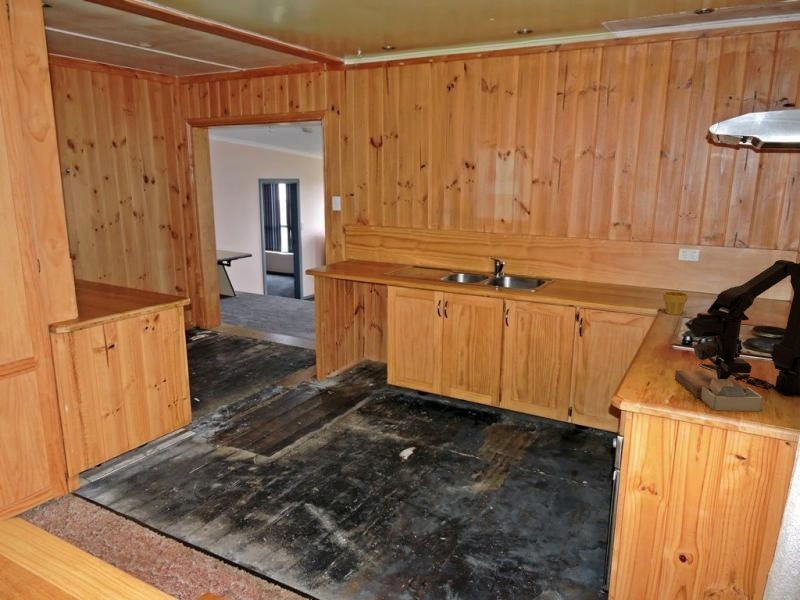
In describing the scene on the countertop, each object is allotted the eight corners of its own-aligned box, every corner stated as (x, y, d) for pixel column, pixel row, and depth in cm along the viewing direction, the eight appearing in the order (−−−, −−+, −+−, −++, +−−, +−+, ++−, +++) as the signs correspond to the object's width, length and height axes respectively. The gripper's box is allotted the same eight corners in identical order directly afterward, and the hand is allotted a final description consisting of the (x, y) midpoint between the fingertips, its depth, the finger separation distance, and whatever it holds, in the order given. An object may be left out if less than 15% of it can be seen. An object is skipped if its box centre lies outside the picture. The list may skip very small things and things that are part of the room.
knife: (695, 366, 193) (695, 362, 193) (709, 363, 195) (710, 360, 195) (761, 391, 170) (762, 387, 170) (777, 388, 172) (777, 384, 172)
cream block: (726, 386, 164) (730, 379, 162) (733, 398, 160) (736, 392, 158) (709, 385, 164) (712, 378, 163) (715, 398, 161) (718, 391, 159)
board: (719, 379, 179) (720, 370, 178) (745, 399, 163) (746, 389, 163) (674, 378, 180) (675, 370, 180) (696, 398, 165) (697, 388, 164)
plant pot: (665, 315, 259) (667, 295, 257) (659, 310, 269) (660, 291, 267) (689, 316, 258) (691, 295, 255) (681, 311, 268) (683, 291, 265)
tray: (746, 399, 163) (748, 387, 162) (761, 411, 155) (763, 397, 154) (700, 399, 164) (702, 386, 163) (713, 410, 156) (715, 397, 155)
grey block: (741, 386, 157) (745, 394, 154) (735, 398, 160) (739, 406, 158) (722, 386, 157) (726, 394, 155) (717, 397, 160) (721, 405, 158)
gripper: (685, 324, 170) (680, 372, 174) (713, 344, 152) (706, 396, 156) (723, 325, 169) (717, 372, 173) (756, 345, 151) (747, 397, 155)
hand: (720, 384), depth 164 cm, fingers closed, pressing on cream block
